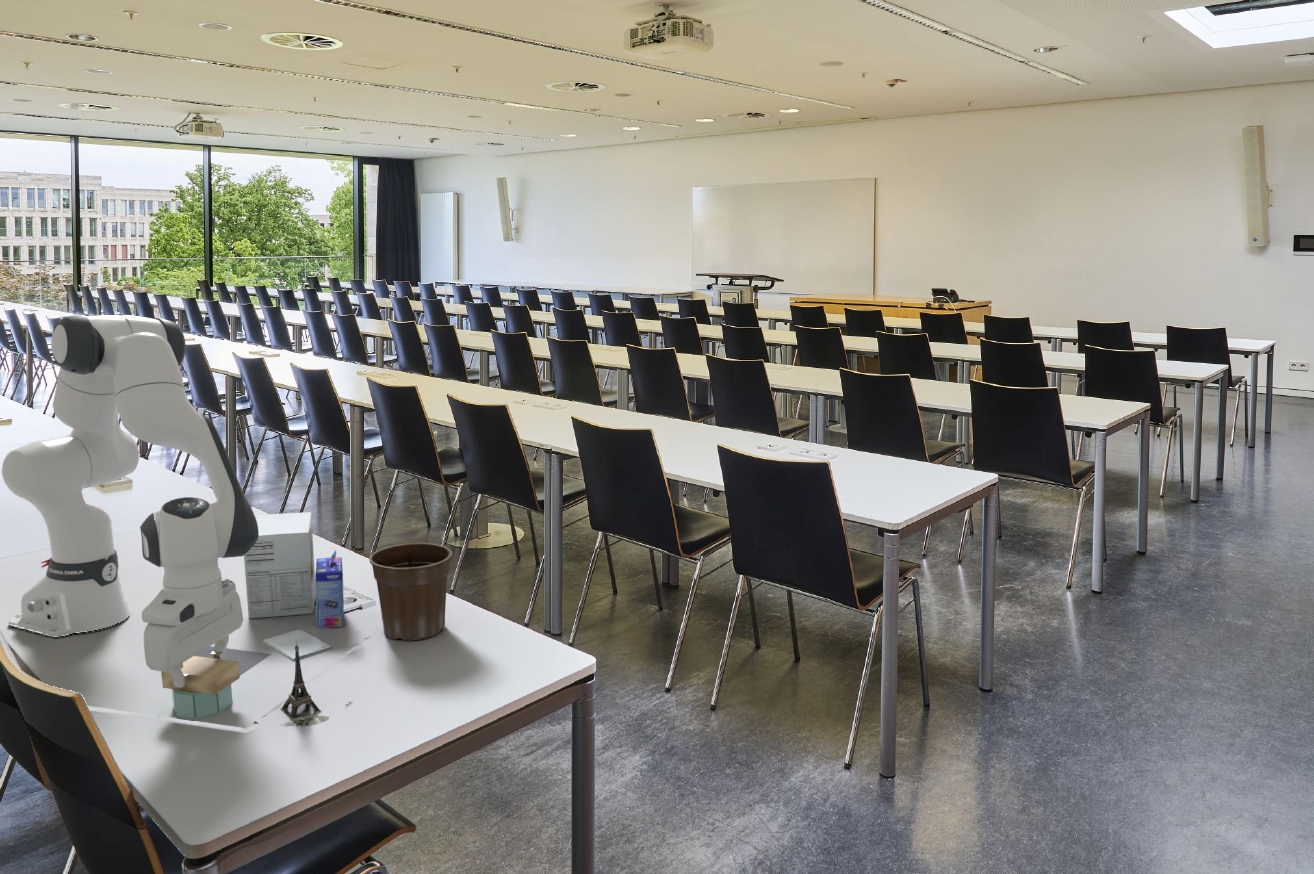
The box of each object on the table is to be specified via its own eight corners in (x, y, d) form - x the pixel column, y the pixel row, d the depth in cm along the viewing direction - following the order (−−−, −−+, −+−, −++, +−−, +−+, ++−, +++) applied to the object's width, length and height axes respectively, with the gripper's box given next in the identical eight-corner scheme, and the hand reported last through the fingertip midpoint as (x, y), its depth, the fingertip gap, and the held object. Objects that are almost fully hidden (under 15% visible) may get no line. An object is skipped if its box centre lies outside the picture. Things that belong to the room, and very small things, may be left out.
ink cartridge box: (345, 627, 203) (341, 560, 200) (316, 630, 202) (312, 562, 199) (344, 609, 212) (341, 545, 209) (317, 612, 211) (313, 547, 208)
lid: (162, 687, 166) (161, 671, 165) (188, 671, 172) (187, 655, 171) (215, 694, 163) (213, 677, 163) (239, 677, 170) (238, 661, 169)
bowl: (162, 716, 165) (160, 691, 164) (198, 693, 174) (196, 669, 173) (209, 723, 163) (206, 697, 162) (242, 699, 172) (240, 675, 171)
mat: (164, 675, 180) (163, 672, 180) (207, 648, 192) (207, 645, 192) (231, 684, 177) (231, 680, 177) (271, 656, 189) (271, 653, 189)
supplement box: (314, 614, 210) (309, 532, 206) (247, 620, 206) (241, 537, 202) (317, 586, 226) (312, 510, 222) (254, 591, 222) (249, 514, 218)
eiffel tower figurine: (241, 726, 164) (235, 651, 161) (270, 698, 173) (265, 626, 171) (328, 732, 162) (323, 656, 159) (353, 703, 172) (349, 631, 169)
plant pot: (359, 627, 203) (355, 552, 200) (429, 608, 214) (427, 537, 210) (395, 652, 191) (392, 573, 188) (468, 631, 202) (467, 556, 198)
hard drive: (333, 646, 191) (301, 628, 200) (293, 658, 186) (262, 639, 194) (333, 654, 192) (302, 635, 200) (293, 666, 186) (262, 647, 194)
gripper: (217, 573, 175) (223, 646, 178) (133, 616, 155) (141, 697, 158) (249, 577, 174) (254, 650, 176) (168, 620, 154) (175, 702, 157)
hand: (200, 673), depth 167 cm, fingers open, 8 cm apart
